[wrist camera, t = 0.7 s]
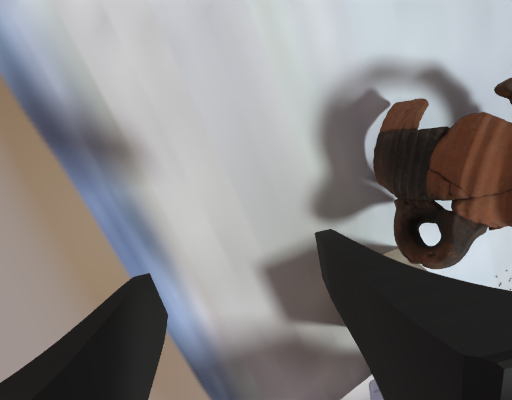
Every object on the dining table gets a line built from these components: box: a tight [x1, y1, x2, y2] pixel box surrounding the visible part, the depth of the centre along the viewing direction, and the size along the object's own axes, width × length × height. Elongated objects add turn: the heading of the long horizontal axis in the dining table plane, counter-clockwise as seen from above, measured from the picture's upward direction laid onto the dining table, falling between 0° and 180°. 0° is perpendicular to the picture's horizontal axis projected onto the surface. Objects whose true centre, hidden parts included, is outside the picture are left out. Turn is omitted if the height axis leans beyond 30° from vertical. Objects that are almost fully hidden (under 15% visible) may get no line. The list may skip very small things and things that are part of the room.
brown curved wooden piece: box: [373, 78, 512, 269], centre depth 17 cm, size 12×9×8 cm
